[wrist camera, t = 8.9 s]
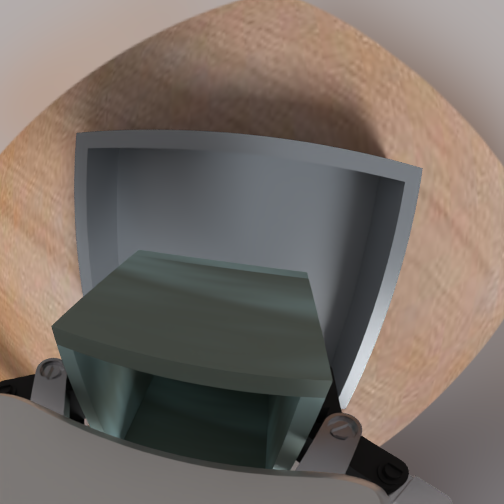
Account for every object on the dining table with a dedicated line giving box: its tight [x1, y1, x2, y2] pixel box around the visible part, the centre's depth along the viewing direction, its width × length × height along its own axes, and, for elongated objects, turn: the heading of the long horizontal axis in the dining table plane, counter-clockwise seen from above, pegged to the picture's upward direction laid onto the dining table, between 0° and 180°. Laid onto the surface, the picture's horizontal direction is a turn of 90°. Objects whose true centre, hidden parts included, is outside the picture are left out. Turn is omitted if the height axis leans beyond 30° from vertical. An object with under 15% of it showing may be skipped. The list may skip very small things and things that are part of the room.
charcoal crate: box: [74, 130, 423, 409], centre depth 19 cm, size 18×20×5 cm
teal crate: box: [52, 250, 333, 470], centre depth 10 cm, size 7×7×6 cm
